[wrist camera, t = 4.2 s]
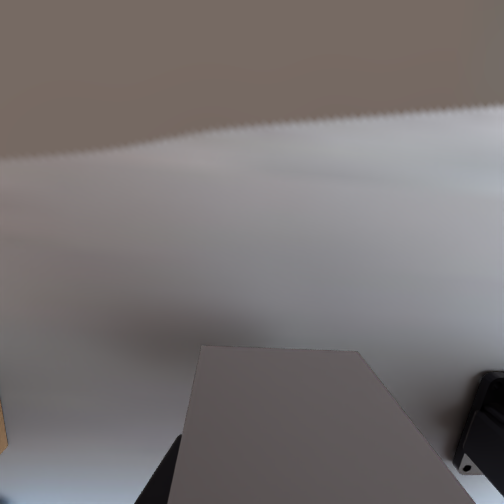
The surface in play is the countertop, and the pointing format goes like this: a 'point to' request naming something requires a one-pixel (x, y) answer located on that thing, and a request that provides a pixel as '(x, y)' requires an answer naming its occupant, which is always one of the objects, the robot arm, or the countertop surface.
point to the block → (301, 434)
